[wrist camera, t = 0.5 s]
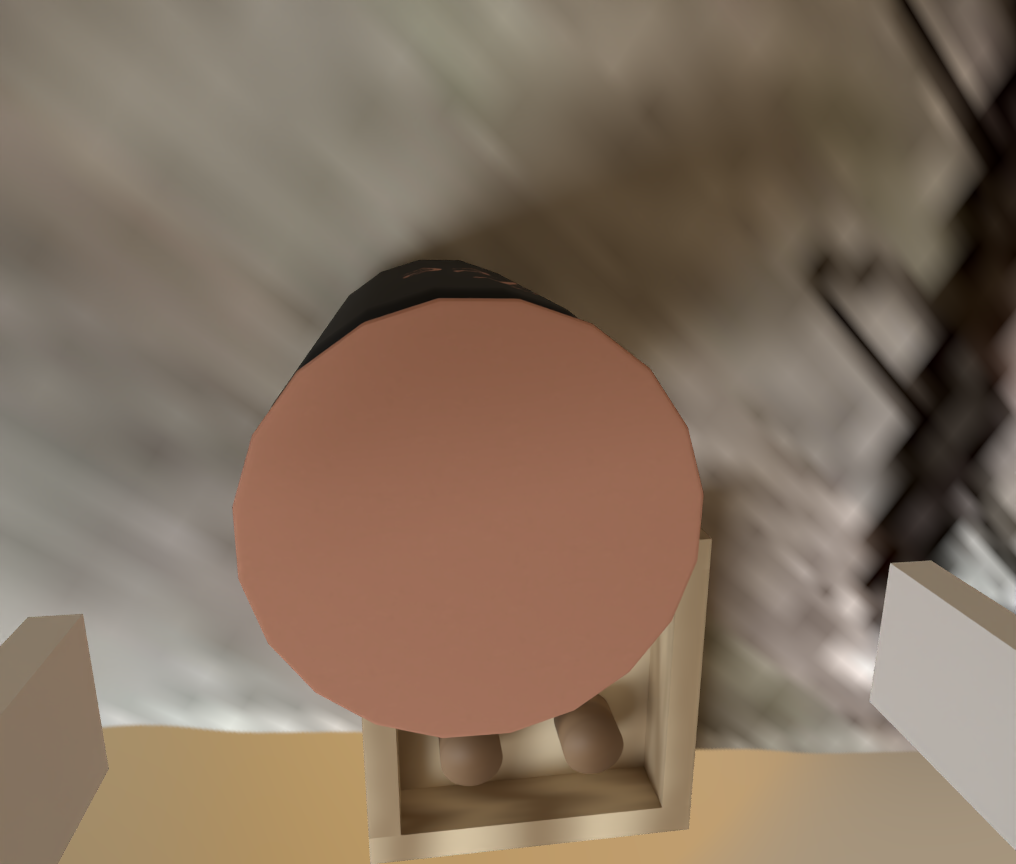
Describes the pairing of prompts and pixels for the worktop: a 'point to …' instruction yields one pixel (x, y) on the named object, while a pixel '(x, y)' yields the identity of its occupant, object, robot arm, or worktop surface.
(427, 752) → the peg frame
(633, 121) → the worktop surface
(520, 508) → the coffee jar
